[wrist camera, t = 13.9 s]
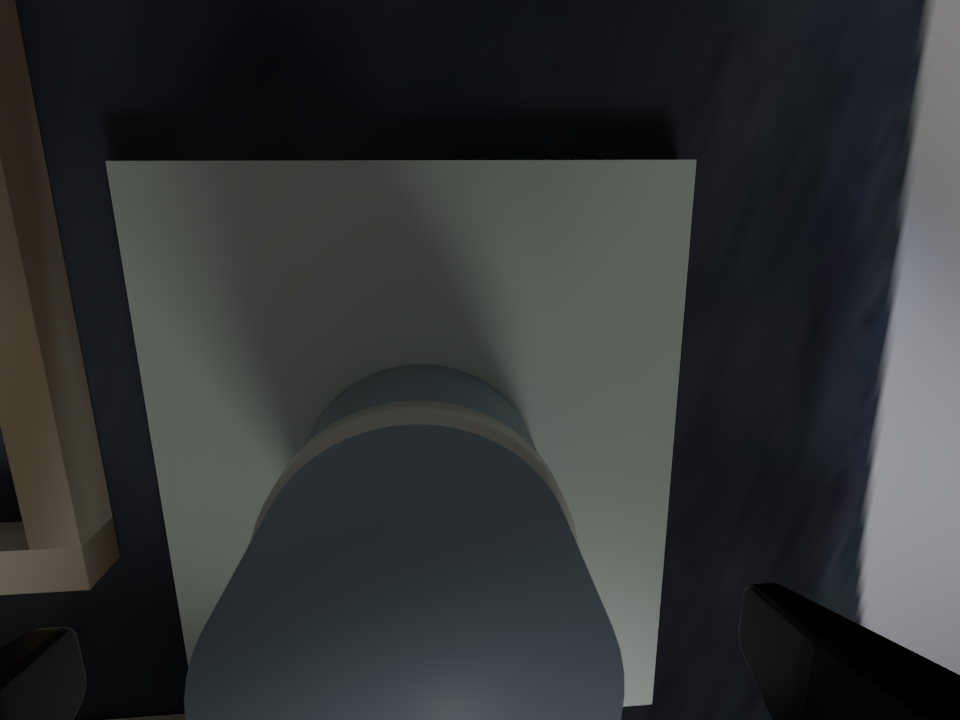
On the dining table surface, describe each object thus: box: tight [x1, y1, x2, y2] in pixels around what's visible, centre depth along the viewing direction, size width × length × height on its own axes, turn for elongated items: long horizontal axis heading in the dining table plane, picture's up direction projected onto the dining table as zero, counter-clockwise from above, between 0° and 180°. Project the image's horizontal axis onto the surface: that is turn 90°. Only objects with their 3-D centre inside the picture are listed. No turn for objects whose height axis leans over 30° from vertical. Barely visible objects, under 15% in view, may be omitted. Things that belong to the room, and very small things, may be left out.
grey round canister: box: [184, 364, 624, 720], centre depth 9 cm, size 5×5×6 cm
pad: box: [106, 160, 696, 707], centre depth 13 cm, size 11×13×1 cm
